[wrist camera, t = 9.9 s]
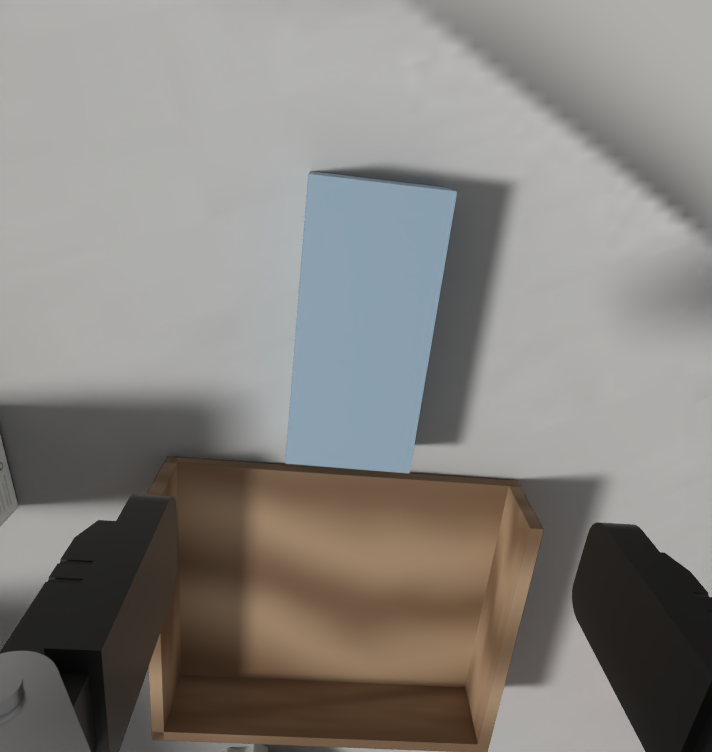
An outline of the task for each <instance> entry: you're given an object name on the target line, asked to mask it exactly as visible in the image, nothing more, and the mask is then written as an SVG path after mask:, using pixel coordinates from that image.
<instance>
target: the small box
mask: <svg viewBox="0 0 712 752" xmlns="http://www.w3.org/2000/svg"><path fill="white" fill-rule="evenodd" d="M17 507H18V503H17V499H16V495H15V491H14V487H13V483H12V479H11V475H10V471H9V467H8V463H7V459H6V455H5V451H4V447H3V443H2V439H1V435H0V526H1V525H2V524H3V523H4V522H5V521H6V520H7V519H8V518H9V517H10V516H11V514H12V513H13V512H14V511H15V510H16V509H17Z"/></svg>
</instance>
